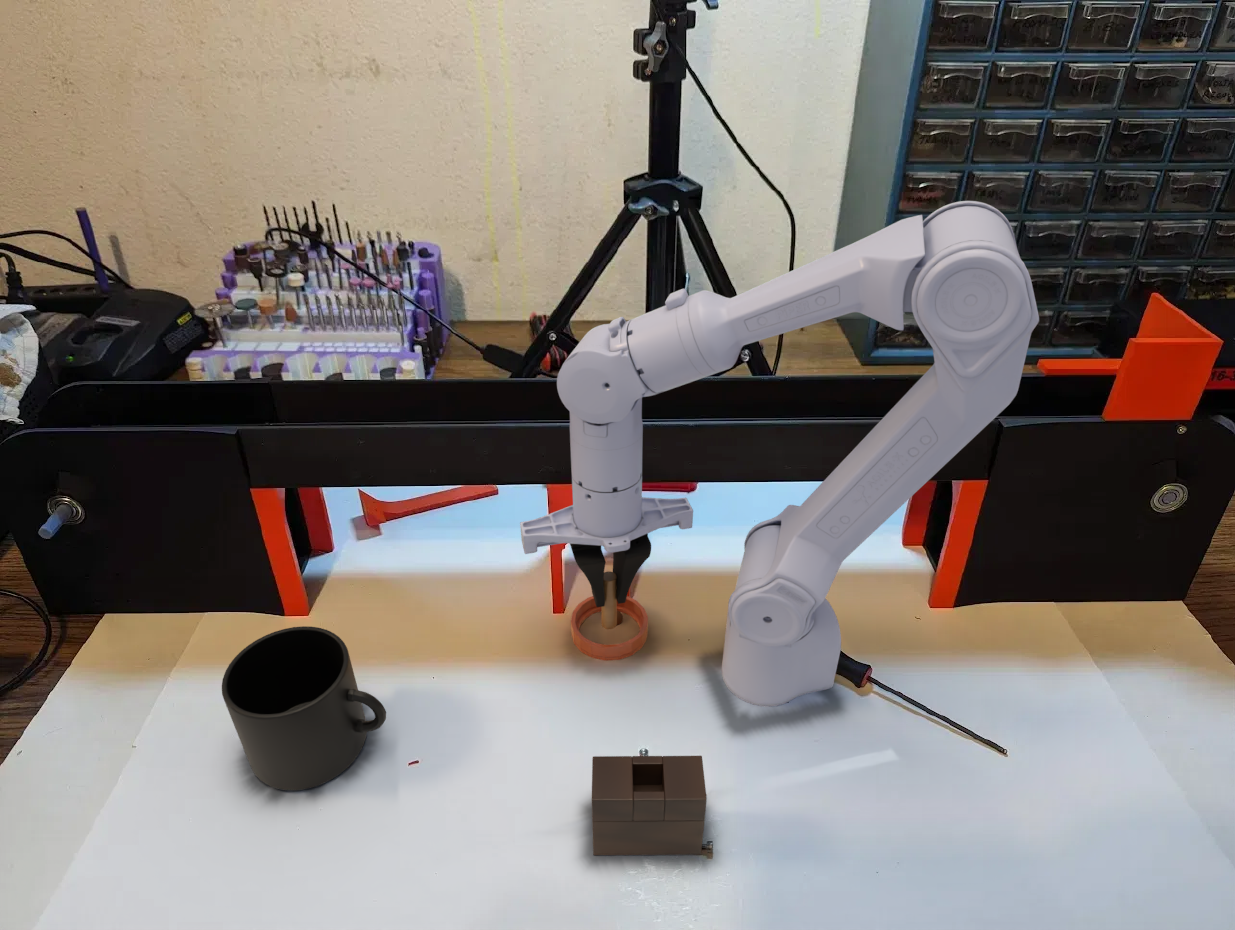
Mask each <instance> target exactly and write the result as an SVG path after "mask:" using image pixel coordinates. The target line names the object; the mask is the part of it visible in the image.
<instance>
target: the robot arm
mask: <svg viewBox="0 0 1235 930" xmlns="http://www.w3.org/2000/svg"><path fill="white" fill-rule="evenodd" d="M1019 253H1020V252H1019V250H1018V245H1017V241H1016V237H1015V233H1014V229H1013V227H1012V225H1011V223H1010V221H1009V220H1008V218H1007V217H1006V215H1004V213H1003V212H1001V211H1000V210H999V209H997V208H995V206H993V205H992V204H991V205H990V204H988V203H986V202H982V201H977V200H962V201H961V200H959V201H956V202H955V201H954V202H952V203H951V202H950V203H948V204H946V205H943V206H942V207H940V208H938V209H936V210H935V211H932V213H930V214H929V215H928V216H927V217H926V218H924V219H923V214H919V215H914V216H910V217H906V218H902V219H900V220H898V221H895V222H894V223H892V224H890V225H888V226H886V227H884V228H882V229H880V230H877V231H876V232H873V233H872V234H869V235H868V236H866V237H865V236H864V237H863V238H861V239H859V240H856V241H855V242H853V243H850V244H848V245H845V246H844V247H841V248H839V249H836V250H834V251H832V252H829V253H828V254H826V255H823V256H821V257H819V258H817V259H814V260H813V261H810V262H807V263H806V264H804V265H801V266H799V267H797V268H795V269H793V270H790V271H788V272H786V273H784V274H781V275H779V276H777V277H775V278H772V279H771V280H768V281H766V282H764V283H761V284H759V285H757V286H755V287H753V288H750V289H748V290H745V291H744V292H741V293H739V294H737V295H735V296H732V297H726V296H724V295H721V294H718V293H717V292H713V291H711V290H707V289H702V290H700V291H697V292H695V293H693V294H690V295H689V293H688V291H687V290H686V289H685V288H681V289H678V290H676V291H673V292H671V293H669V294H668V296H667V298H666V300H665V301H664V305H663V306H660V307H658V308H655V309H653V310H651V311H648V312H646V313H644V314H643V313H642V314H641V315H638V316H636V317H633V318H631V319H628V320H626V319H625V317H624V316H620V317H617V318H614V319H612V320H611V321H610V323H604V324H600V325H597V326H595V327H593V328H591V329H590V330H588V331H587V332H586V333H585V334H584V336H583V337H582V339H581V340H579V342H578V343H577V345H576V346H575V348H573V350H572V351H571V352H570V354H569V355H568V357H566V359H565V360H564V362H563V363H562V365H561V367H560V369H559V371H558V374H557V377H556V390H557V393H558V396H559V399H560V401H561V403H562V404H563V405H564V407H565V408H566V409H567V410H568V411H569V443H570V445H569V446H570V447H569V448H570V468H571V469H570V470H571V489H572V490H571V491H572V493H571V494H572V504H571V505H569V506H567V507H563V508H561V509H559V510H556V511H553V512H551V513H549V514H546V515H543V516H540V517H538V518H537V517H536V518H534V519H529V520H525V521H520V522H519V528H520V538H521V539H520V540H521V544H522V549H523V553H524V554H525V555H529V554H535V553H537V552H538V548H542V547H548V546H554V545H561V544H568V545H570V549H571V552H572V554H573V558H574V562H575V563H576V565H577V566H578V568H579V569H580V570H581V572H582V573H583V574H584V576H585V577H586V579H587V581H588V583H589V584H590V587H591V594H592V596H593V597H594V601H595V604H596V607H603V606H604V605H605V595H604V586H603V579H604V572H605V567H606V558H605V556H604V553H603V551H602V547H603V549H604V551H605V552H607V553H612V572H614V573H615V574H616V576H617V602H618V604H620V603H625V602H626V598H627V596H628V594H629V592H630V588H631V585H632V583H633V580H634V579H635V577H636V575H637V573H638V571H639V569H640V568H641V567H642V566H643V564H644V562H646V561H647V560H648V559H649V558H650V556H651V552H652V542H651V540H650V538H649V534H650V533H652V532H654V531H656V530H658V529H659V530H660V529H664V528H669V527H677V526H678V528H679V529H680V530H688V529H692V528H693V524H694V523H693V522H694V508H693V507H692V505H691V503H690V502H689V500H688V498H687V497H679V498H662V497H661V498H660V497H659V498H658V497H646V496H645V497H644V496H643V448H644V447H643V441H644V440H643V437H644V436H643V435H644V434H643V433H644V424H643V398H646V397H652V396H656V395H659V394H661V393H664V392H667V391H671V390H673V389H675V388H679V387H681V386H684V385H687V384H691V383H693V382H695V381H696V382H697V381H698V380H699V381H700V380H701V379H704V378H708V377H709V376H713V375H715V374H718V373H721V372H724V371H727V370H729V369H731V368H733V367H734V365H735V364H736V363H737V361H738V358H739V355H740V353H741V351H742V349H743V347H745V346H747V345H749V344H753V343H757V342H760V341H762V340H766V339H770V338H773V337H776V336H779V335H782V334H786V333H789V332H793V331H796V330H799V329H802V328H806V327H809V326H812V325H816V324H819V323H822V322H825V321H829V320H831V319H835V318H839V317H842V316H845V315H848V314H849V315H850V314H851V313H859V314H861V315H864V316H866V317H868V318H870V319H872V320H874V321H877V322H878V323H881V324H883V325H885V326H887V327H890V328H892V329H894V330H896V331H904V329H905V325H904V313H912V315H913V318H914V320H915V322H916V325H917V326H918V328H919V330H920V331H921V333H922V334H923V336H924V338H925V339H926V341H927V342H928V344H929V345H930V346H931V348H932V355H933V361H934V362H933V364H932V366H930V368H928V370H927V371H926V372H925V373H924V374H923V375H922V376H921V377H920V378H919V379H918V380H917V381H916V382H915V383H914V384H913V385H912V387H910V388H909V390H908V391H907V392H906V393H904V395H903V396H902V397H901V398H900V399H899V400H898V401H897V402H896V403H895V405H894V406H893V407H892V408H891V409H889V411H888V412H887V413H886V414H885V415H884V416H883V417H882V419H881V420H880V421H879V422H877V424H876V425H875V426H874V427H873V428H872V429H871V430H870V431H869V432H868V433H867V434H866V435H865V437H863V439H862V440H861V441H860V442H859V443H858V444H857V445H856V446H855V447H854V448H853V449H852V451H850V453H848V455H847V456H846V457H845V458H844V459H843V460H842V461H841V462H840V463H839V464H838V466H836V467H835V468H834V469H833V470H832V471H831V473H830V474H829V475H828V476H827V477H826V478H825V479H824V480H823V481H822V482H821V483H820V484H819V485H818V486H817V487H816V488H815V490H814V491H812V493H810V495H809V496H808V497H807V498H806V499H805V500H804V501H803V502H802V503H801V504H800V505H795V504H788V505H787V506H786V507H785V508H784V509H783V510H782V511H781V512H780V513H779V514H778V515H776V516H774V517H772V518H769V519H766V520H763V521H760V522H758V523H757V524H755V525H753V526H752V528H751V529H750V530H749V531H748V533H747V535H746V536H745V539H744V544H743V546H744V547H743V548H744V549H743V550H744V551H743V556H742V559H741V564H740V566H739V571H738V574H737V575H738V576H737V579H736V584H735V588H734V590H733V592H731V594H730V596H729V598H728V605H727V614H726V625H725V633H724V644H723V652H722V663H721V677H722V680H723V682H724V684H725V686H726V687H727V689H728V690H729V691H730V692H731V693H732V694H733V695H734V696H735V697H736V698H738V699H740V700H742V701H744V702H745V703H748V704H750V705H754V706H759V707H778V706H782V705H784V704H787V703H789V702H791V701H793V700H794V699H796V698H798V697H800V696H801V697H802V696H804V695H807V694H811V693H815V692H821V691H825V690H829V689H832V688H834V683H835V679H836V674H837V669H838V664H839V660H840V654H841V652H842V651H841V650H842V635H841V627H840V624H839V620H838V617H837V615H836V612H835V610H834V609H833V606H832V605H831V603H830V602H829V601H828V599H827V595H828V594H829V592H830V589H831V587H832V585H833V584H834V583H833V582H834V581H835V579H836V576H837V574H838V572H839V570H840V567H841V566H842V564H843V562H844V561H845V560H846V559H847V558H848V557H849V556H850V555H851V554H852V553H853V552H854V551H855V550H857V548H859V547H860V546H861V545H862V544H863V543H864V542H865V541H866V540H867V539H868V538H870V537H871V535H872V534H874V532H876V531H877V530H878V529H879V528H880V527H881V526H882V525H883V524H884V523H885V522H886V521H887V520H888V519H889V518H891V516H892V515H894V514H895V512H897V511H898V510H900V508H901V507H902V506H903V505H904V504H906V502H907V501H909V500H910V498H912V497H913V496H914V495H915V494H916V493H917V492H918V491H919V490H920V489H921V488H923V486H924V485H925V484H927V482H929V481H930V480H931V479H932V478H933V477H934V476H935V475H937V473H938V472H939V471H940V470H941V469H943V468H944V467H945V466H946V465H947V464H948V463H949V462H950V461H951V460H952V459H953V458H954V457H955V456H957V454H958V453H960V451H962V450H963V449H964V448H965V447H967V445H968V444H970V442H971V441H973V439H974V438H976V437H977V435H979V434H980V433H981V432H982V431H983V430H984V429H985V428H986V427H987V426H988V425H989V424H990V423H991V422H993V420H994V419H996V418H997V417H998V416H999V415H1000V414H1001V413H1002V412H1003V411H1005V409H1006V408H1007V407H1008V406H1009V405H1010V404H1011V403H1012V402H1013V401H1014V399H1015V398H1016V396H1017V394H1018V391H1019V388H1020V384H1021V379H1022V375H1023V370H1024V366H1025V362H1026V358H1027V355H1028V354H1027V353H1028V349H1029V345H1030V340H1031V336H1032V333H1033V331H1034V329H1035V328H1036V327H1037V325H1038V324H1039V323H1040V316H1039V310H1038V306H1037V301H1036V297H1035V292H1034V287H1033V283H1032V279H1031V275H1030V272H1029V270H1028V269H1027V267H1026V264H1025V262H1024V261H1023V260H1022V258H1021V256H1020V254H1019Z"/></svg>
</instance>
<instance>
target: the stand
mask: <svg viewBox="0 0 1235 930" xmlns="http://www.w3.org/2000/svg"><path fill="white" fill-rule="evenodd" d="M703 761H704V760H703V755H633V756H632V755H620V756H619V755H616V756H615V755H614V756H613V755H611V756H610V755H607V756H605V755H603V756H601V755H599V756H597V755H595V756H592V765H591V766H592V767H591V768H592V770H591V827H592V854H593V856H680V855H681V856H685V855H687V856H689V855H690V856H693V855H694V856H695V855H696V856H697V855H702V850H703V839H704V829H705V819H706V812H707V801H708V798H707V790H706V781H705V780H706V779H705V771H704V762H703Z"/></svg>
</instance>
